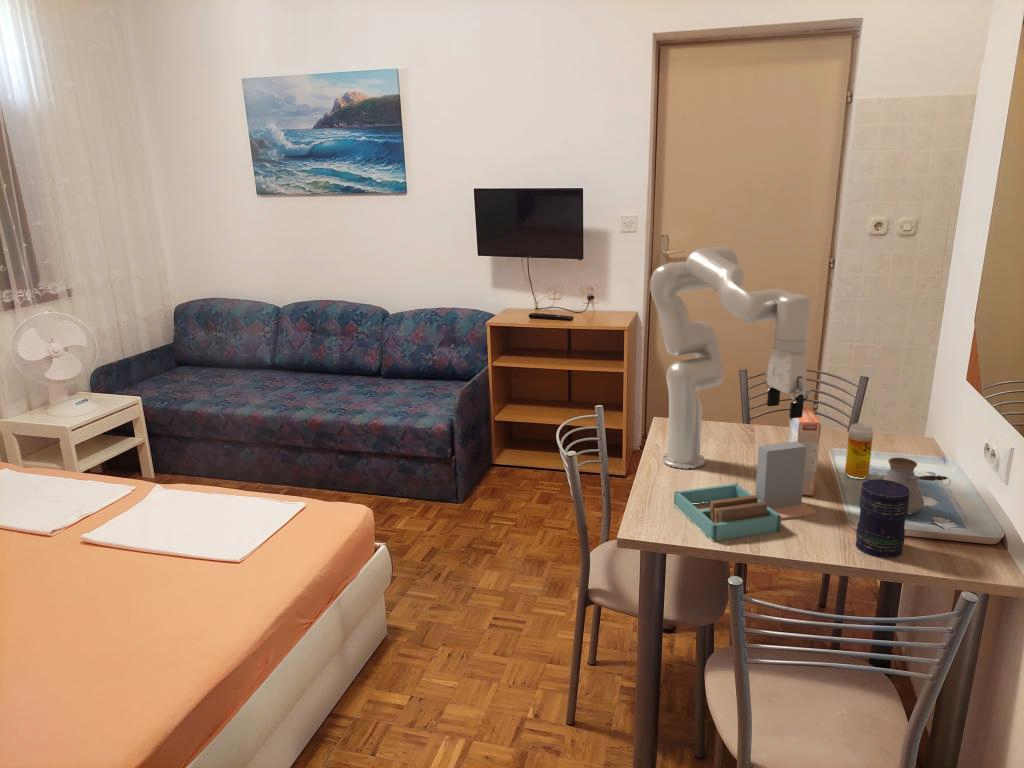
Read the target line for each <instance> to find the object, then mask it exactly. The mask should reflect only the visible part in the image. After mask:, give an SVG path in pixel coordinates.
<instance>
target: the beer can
mask: <svg viewBox="0 0 1024 768" xmlns="http://www.w3.org/2000/svg"><path fill="white" fill-rule="evenodd" d="M873 436H874V430H873V426H872V425H870V424H867V423H862V422H861V423H860V422H858V423H857V422H854V423H852V424H851V425H850V427H849V428H848V438H847V446H846V447H847V448H846V458H845V470H844V474H845V475H846V474H848V475H850V476H853V477H858V478H864V477H866V478H868V477H869V474H870V465H871V455H872V447H873V446H872V445H873ZM867 476H868V477H867Z"/></svg>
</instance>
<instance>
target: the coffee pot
mask: <svg viewBox="0 0 1024 768" xmlns="http://www.w3.org/2000/svg"><path fill="white" fill-rule="evenodd" d="M888 464H889V466H890V468H889V470H888V471H887V473H886V474H885V476H884V478H883V479H882V480H889V481H894V482H897V483H900V484H902V485H904V486H906V487H908V488H909V490H910V495H909V507H908V513H907V514H909V513H913V514H914V513H917V512H918V511H920V510H921V509H922V507H924V505H925V500H924V498H923V494H922V492H921V489H920V486H919V484H918V481H917V480H921V481H931V482H932V481H940V483H941V484H942V485H943V486H946V487H947V486H949V485H950V484H951V479H950V478H948V477H947V476H945V475H942V476H941V475H934V474H933V475H932V474H931V475H920V476H918V475H916V476H915V472H914V470H915V468H917V466H918V463H917V462H916V461H914V460H912V459H909V458H905V457H891V458H889V459H888ZM945 480H948V481H949V483H948V484H944V483H943V481H945Z"/></svg>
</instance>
